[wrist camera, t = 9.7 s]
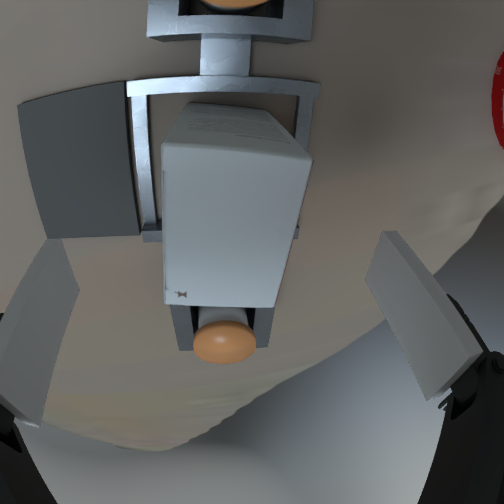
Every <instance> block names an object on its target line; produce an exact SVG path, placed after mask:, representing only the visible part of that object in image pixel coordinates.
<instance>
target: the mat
mask: <svg viewBox="0 0 504 504" xmlns="http://www.w3.org/2000/svg"><path fill="white" fill-rule="evenodd" d="M17 108H18V116H19V123H20V130H21V136H22V142H23V148H24V153H25V158H26V163H27V168H28V172H29V176H30V181H31V185H32V188H33V192H34V196H35V200H36V203H37V207H38V210H39V213H40V217H41V220H42V223H43V226H44V229H45V232H46V235H47V238H48V239H58V238H79V237H103V236H129V235H140V233H141V227H140V221H139V214H138V208H137V201H136V194H135V186H134V178H133V169H132V160H131V150H130V139H129V126H128V110H127V87H126V81H120V82H113V83H107V84H101V85H95V86H90V87H85V88H80V89H75V90H70V91H66V92H62V93H58V94H54V95H50V96H46V97H42V98H39V99H35V100H32V101H28V102H25V103H22V104H19V105H17Z"/></svg>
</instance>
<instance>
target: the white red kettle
mask: <svg viewBox="0 0 504 504" xmlns="http://www.w3.org/2000/svg"><path fill="white" fill-rule="evenodd" d="M492 117H493V122H494V129H495V132H496V135H497V138H498V141H499V143H500V145H501V146H502V148H503V149H504V52H503V53H502V55H501V57H500V59H499V61H498V63H497V67H496V70H495V74H494V77H493V87H492Z"/></svg>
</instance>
